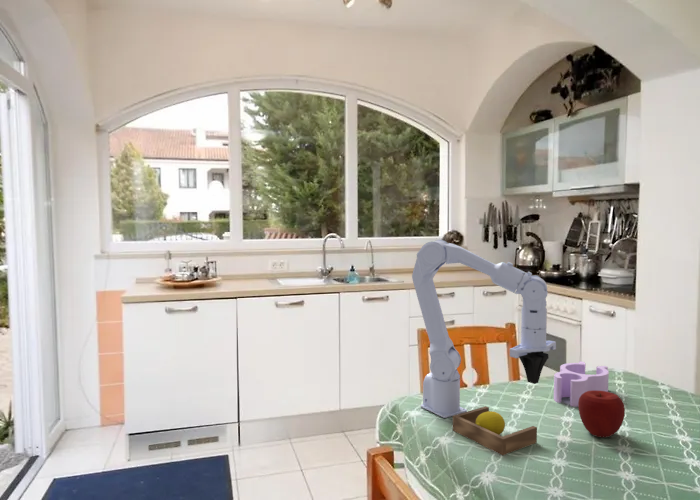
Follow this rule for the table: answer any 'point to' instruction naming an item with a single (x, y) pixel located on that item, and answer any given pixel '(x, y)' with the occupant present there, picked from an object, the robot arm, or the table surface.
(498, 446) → the frame
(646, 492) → the table surface
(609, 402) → the apple
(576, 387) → the clip
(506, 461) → the table surface
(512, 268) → the robot arm
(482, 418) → the lemon
